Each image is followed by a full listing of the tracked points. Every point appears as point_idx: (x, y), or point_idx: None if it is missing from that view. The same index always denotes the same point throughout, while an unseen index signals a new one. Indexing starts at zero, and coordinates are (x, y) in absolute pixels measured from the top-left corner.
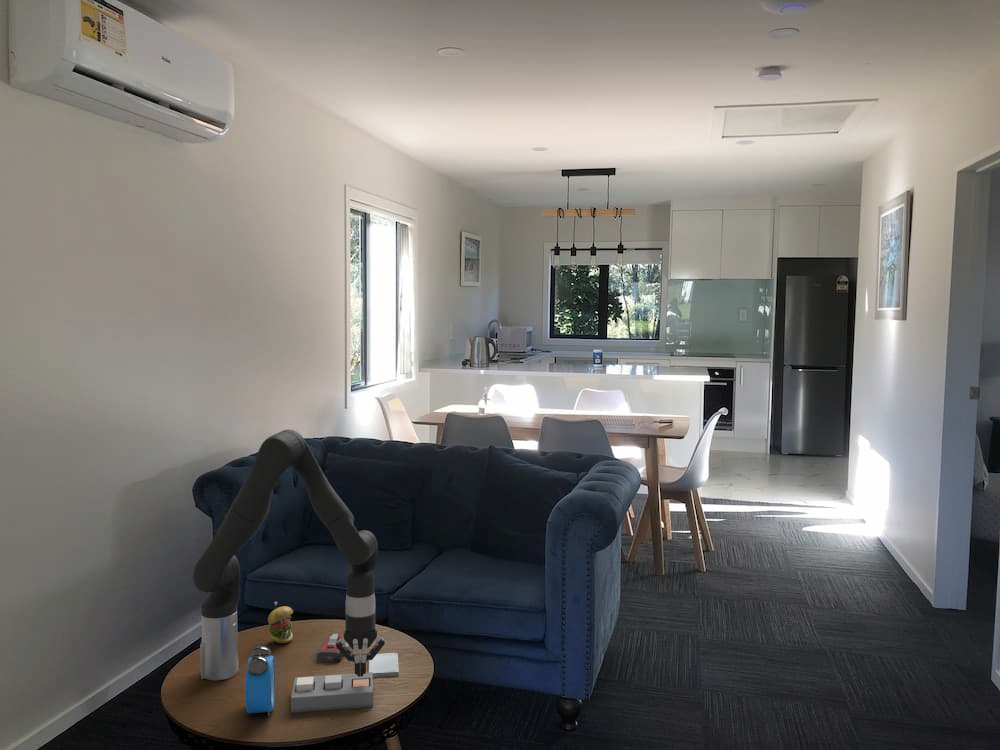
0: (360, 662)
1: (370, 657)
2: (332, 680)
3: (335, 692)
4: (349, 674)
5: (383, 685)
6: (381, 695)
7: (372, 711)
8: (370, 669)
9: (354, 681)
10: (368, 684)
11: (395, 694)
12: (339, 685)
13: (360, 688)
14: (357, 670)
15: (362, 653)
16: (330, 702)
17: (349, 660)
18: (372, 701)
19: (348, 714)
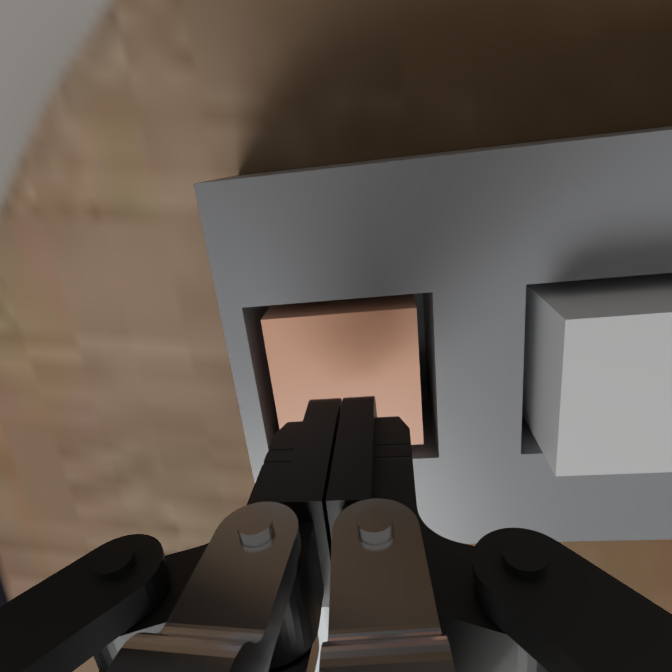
0: (325, 528)
1: (111, 572)
2: (666, 362)
3: (607, 190)
4: (463, 531)
5: (219, 473)
6: (206, 345)
7: (228, 89)
8: (324, 636)
9: (410, 415)
10: (270, 353)
11: (111, 352)
12: (568, 304)
13: (335, 270)
14: (372, 433)
15: (224, 656)
16: (628, 132)
17: (525, 540)
18: (229, 177)
19: (431, 36)
